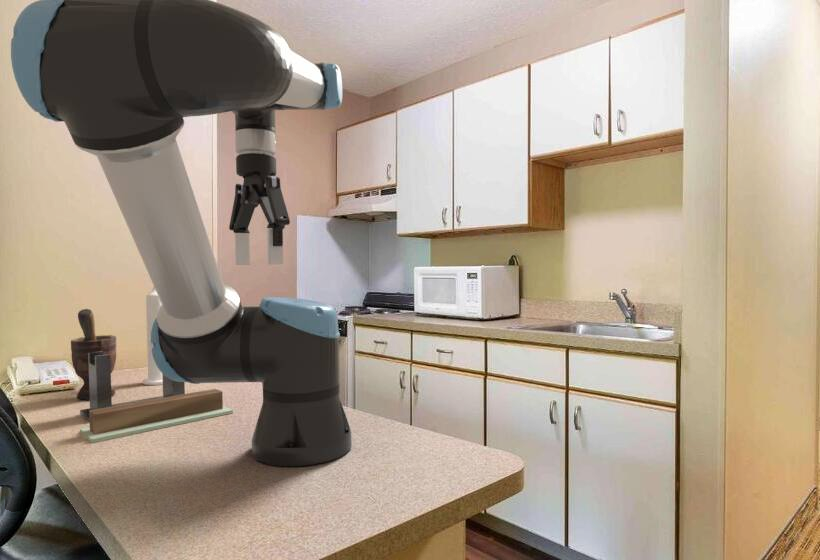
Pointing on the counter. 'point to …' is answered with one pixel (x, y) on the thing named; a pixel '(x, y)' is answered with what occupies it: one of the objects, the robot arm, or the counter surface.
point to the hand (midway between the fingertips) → (258, 264)
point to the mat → (152, 425)
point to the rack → (102, 384)
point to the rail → (154, 410)
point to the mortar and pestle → (90, 350)
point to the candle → (151, 311)
